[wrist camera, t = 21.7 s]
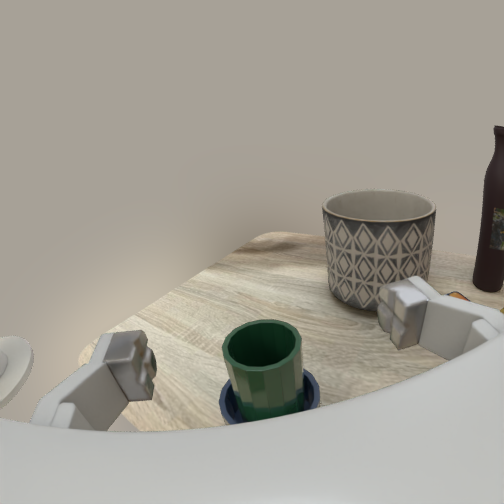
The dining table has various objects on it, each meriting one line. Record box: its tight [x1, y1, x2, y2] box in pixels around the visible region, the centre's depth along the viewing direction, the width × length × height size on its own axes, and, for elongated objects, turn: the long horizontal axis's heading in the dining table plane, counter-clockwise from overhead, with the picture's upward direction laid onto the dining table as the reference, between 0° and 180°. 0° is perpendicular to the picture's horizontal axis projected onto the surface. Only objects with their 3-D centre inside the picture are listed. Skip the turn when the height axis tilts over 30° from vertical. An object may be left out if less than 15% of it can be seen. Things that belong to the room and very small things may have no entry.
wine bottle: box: [473, 126, 504, 292], centre depth 39 cm, size 7×7×30 cm
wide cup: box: [219, 368, 320, 425], centre depth 29 cm, size 10×10×6 cm
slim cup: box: [222, 319, 305, 423], centre depth 27 cm, size 7×7×12 cm
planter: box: [322, 189, 436, 311], centre depth 48 cm, size 19×19×16 cm
